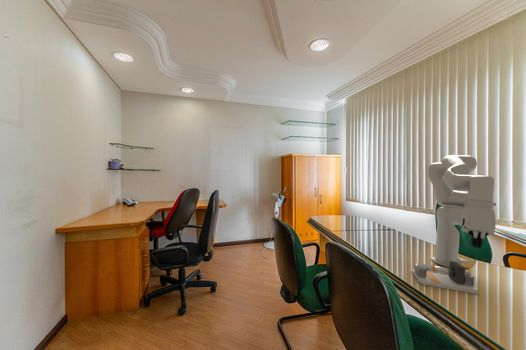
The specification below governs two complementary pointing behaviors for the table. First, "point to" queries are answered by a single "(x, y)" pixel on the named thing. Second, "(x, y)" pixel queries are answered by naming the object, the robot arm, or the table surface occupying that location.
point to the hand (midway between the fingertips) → (476, 246)
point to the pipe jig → (443, 278)
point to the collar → (457, 272)
